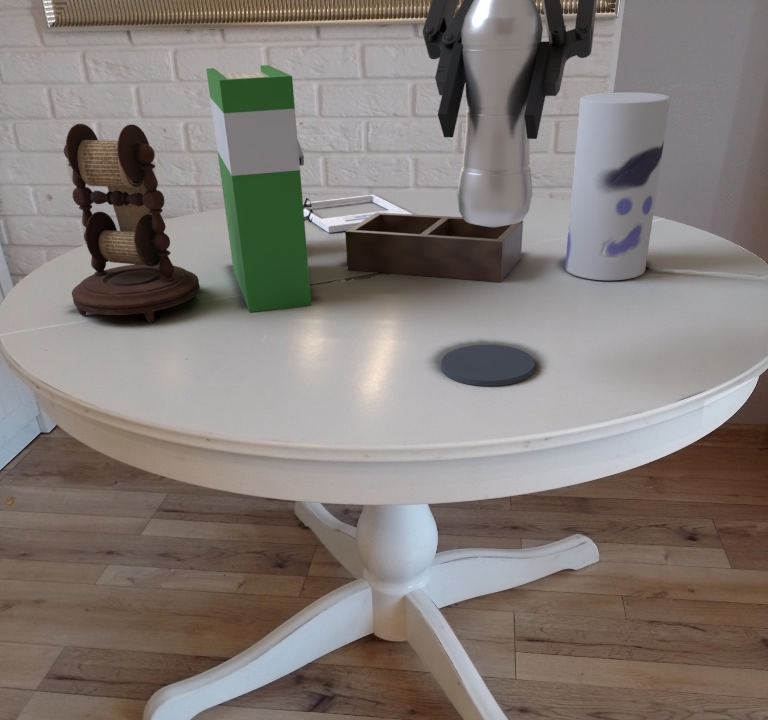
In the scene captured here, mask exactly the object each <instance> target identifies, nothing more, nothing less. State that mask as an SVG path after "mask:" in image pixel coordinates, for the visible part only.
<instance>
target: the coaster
mask: <svg viewBox="0 0 768 720" xmlns="http://www.w3.org/2000/svg"><path fill="white" fill-rule="evenodd" d="M440 365H441V367H440V369H441V372H442V373H443V374H444V375H445V376H446V377H447V378H449V379H450V380H453V381H455V382H458V383H461V384H465V385H471V386H478V387H501V386H508V385H514V384H517V383H520V382H524V381H525V380H526V379H529V378H530V377H531V376H532V375H533V374H534V372H535V369H536V368H535V367H536V361H535V359H534V357H533V356H532V355H531V354H529V353H528V352H526V351H524V350H521V349H518V348H516V347H512V346H507V345H500V344H472V345H466V346H463V347H462V346H461V347H459V348H458V347H457V348H455V349H452V350H451V351H449V352H447V353H446V354H445V355H443V357H442V359H441V363H440Z"/></svg>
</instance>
